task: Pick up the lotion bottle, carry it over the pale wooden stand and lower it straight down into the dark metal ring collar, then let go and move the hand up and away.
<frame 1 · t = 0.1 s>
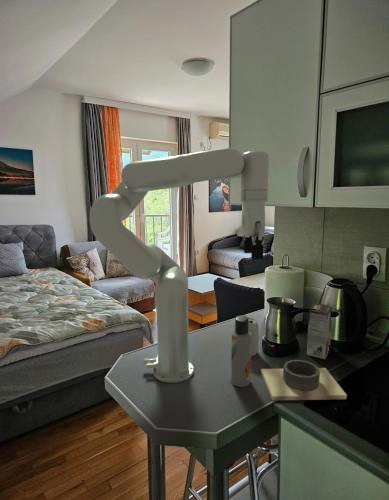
hand: (252, 255, 96), 37 cm above the worktop, tool pointing down, fingers open, 9 cm apart
coffee box: (318, 352, 115), on the worktop
can: (246, 353, 114), on the worktop
lotion bottle: (240, 382, 96), on the worktop
bottle holder: (300, 384, 95), on the worktop
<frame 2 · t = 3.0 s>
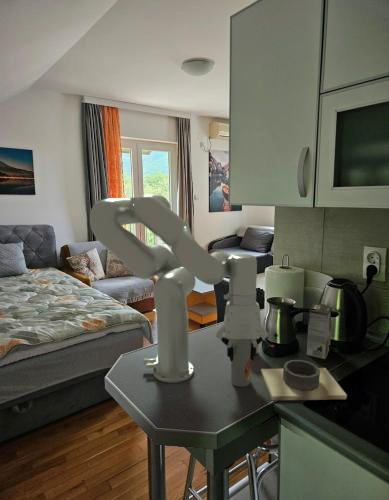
hand: (241, 358, 95), 8 cm above the worktop, tool pointing down, fingers closed on lotion bottle, 5 cm apart
lotion bottle: (240, 382, 96), on the worktop, touching gripper
everything else where it was.
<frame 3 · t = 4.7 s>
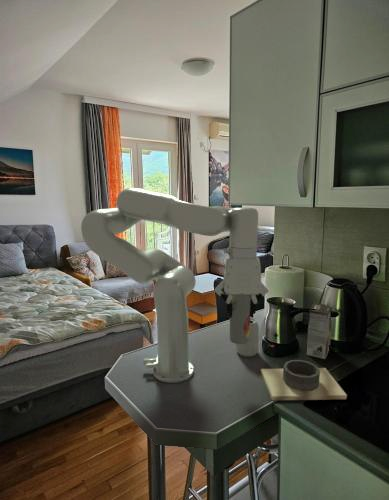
hand: (240, 315, 93), 21 cm above the worktop, tool pointing down, fingers closed on lotion bottle, 5 cm apart
lotion bottle: (239, 340, 95), point 13 cm above the worktop, touching gripper
everything else where it was.
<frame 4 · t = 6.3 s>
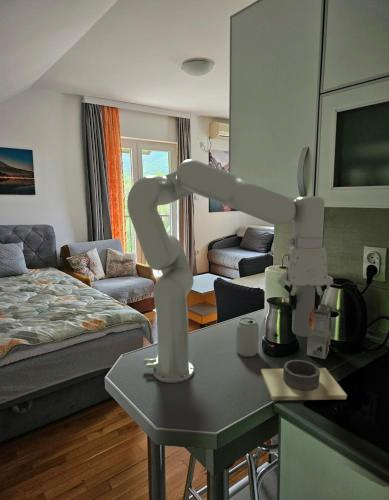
hand: (303, 307, 91), 23 cm above the worktop, tool pointing down, fingers closed on lotion bottle, 5 cm apart
lotion bottle: (302, 333, 92), point 16 cm above the worktop, touching gripper
everything else where it was.
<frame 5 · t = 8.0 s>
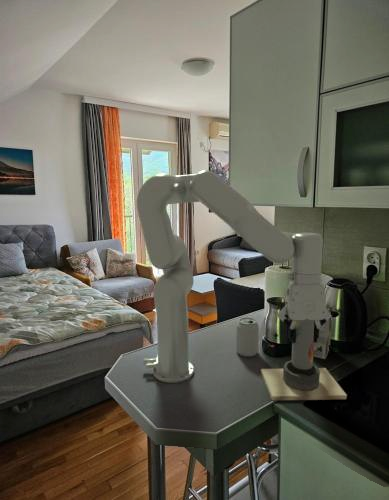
hand: (303, 340, 92), 14 cm above the worktop, tool pointing down, fingers closed on lotion bottle, 5 cm apart
lotion bottle: (302, 365, 94), point 6 cm above the worktop, touching gripper
everything else where it was.
when the fingers open (10 cm above the worktop, at t = 9.5 s): lotion bottle drops 2 cm, resting on bottle holder.
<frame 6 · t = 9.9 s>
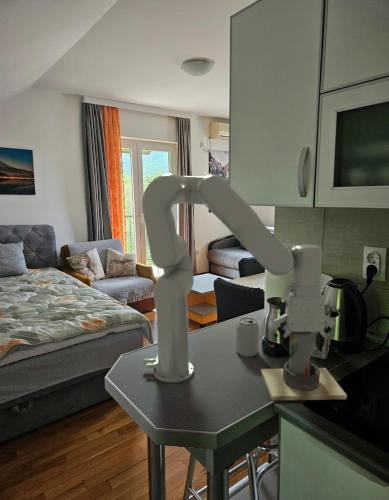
hand: (302, 348, 93), 11 cm above the worktop, tool pointing down, fingers open, 9 cm apart
lotion bottle: (298, 381, 95), point 1 cm above the worktop, touching bottle holder
everything else where it was.
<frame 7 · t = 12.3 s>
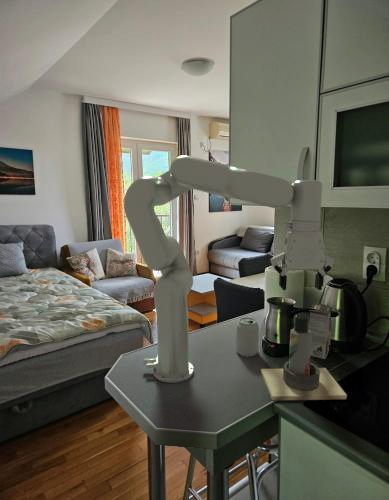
hand: (300, 288, 91), 28 cm above the worktop, tool pointing down, fingers open, 9 cm apart
nothing on the worktop moved.
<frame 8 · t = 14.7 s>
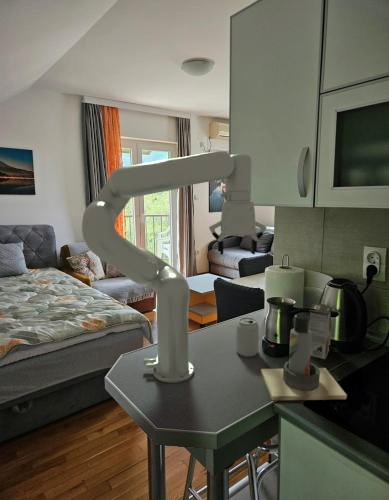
hand: (237, 253, 101), 36 cm above the worktop, tool pointing down, fingers open, 9 cm apart
nothing on the worktop moved.
at the end: lotion bottle 0.6 cm off-centre on the bottle holder, point 1.0 cm above the bottle holder's base; lotion bottle tilted 0°; the gripper is holding nothing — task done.
